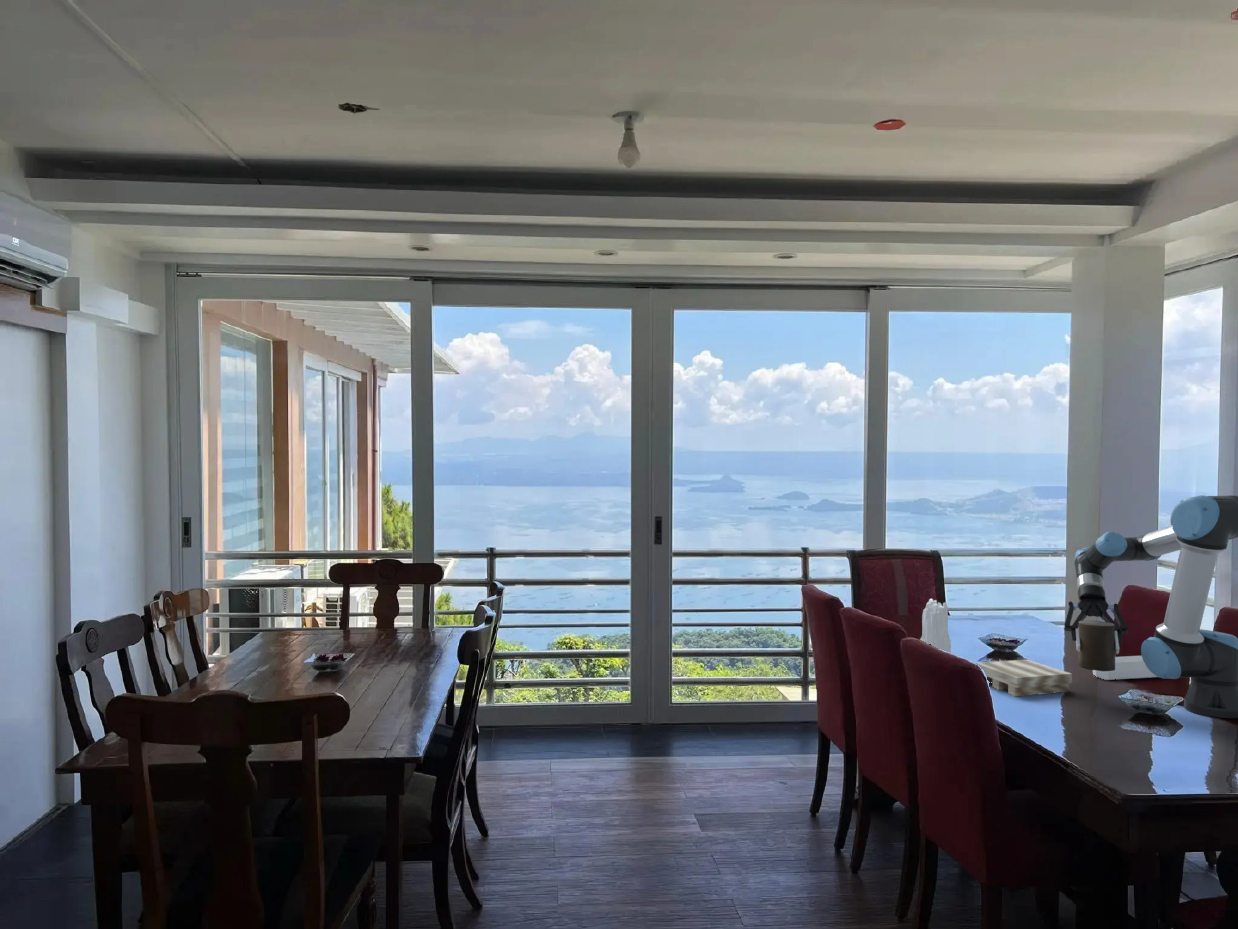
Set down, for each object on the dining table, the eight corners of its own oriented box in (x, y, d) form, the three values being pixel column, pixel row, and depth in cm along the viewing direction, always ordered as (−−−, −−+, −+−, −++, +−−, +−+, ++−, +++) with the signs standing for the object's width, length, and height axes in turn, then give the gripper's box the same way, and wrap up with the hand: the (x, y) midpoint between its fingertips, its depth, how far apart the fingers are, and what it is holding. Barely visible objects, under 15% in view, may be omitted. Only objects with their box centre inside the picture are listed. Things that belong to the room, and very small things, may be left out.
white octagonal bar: (1107, 671, 274) (1171, 668, 278) (1093, 656, 280) (1156, 653, 284) (1099, 688, 278) (1163, 684, 281) (1086, 673, 284) (1148, 669, 288)
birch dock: (1027, 677, 282) (1027, 659, 282) (1072, 692, 263) (1071, 673, 263) (975, 681, 278) (975, 663, 278) (1017, 697, 258) (1016, 678, 258)
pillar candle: (1101, 672, 247) (1100, 622, 248) (1071, 666, 256) (1071, 617, 257) (1122, 669, 251) (1122, 620, 252) (1092, 663, 260) (1092, 615, 261)
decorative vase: (953, 676, 284) (952, 603, 284) (919, 674, 288) (919, 601, 288) (951, 668, 295) (950, 598, 295) (919, 666, 298) (918, 597, 298)
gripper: (1130, 599, 264) (1139, 660, 249) (1051, 596, 273) (1056, 654, 258) (1132, 585, 259) (1142, 645, 244) (1052, 582, 268) (1056, 640, 253)
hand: (1097, 650), depth 251 cm, fingers closed on pillar candle, 10 cm apart
